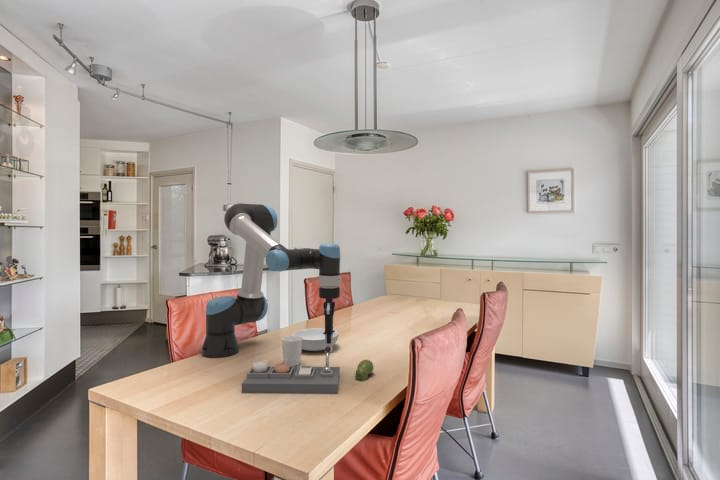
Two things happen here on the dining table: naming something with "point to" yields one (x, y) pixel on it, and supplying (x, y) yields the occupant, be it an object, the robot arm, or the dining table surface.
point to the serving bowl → (314, 338)
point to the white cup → (292, 350)
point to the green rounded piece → (364, 369)
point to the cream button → (260, 366)
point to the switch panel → (292, 381)
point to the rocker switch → (305, 370)
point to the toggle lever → (327, 360)
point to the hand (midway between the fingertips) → (328, 351)
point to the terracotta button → (282, 368)
